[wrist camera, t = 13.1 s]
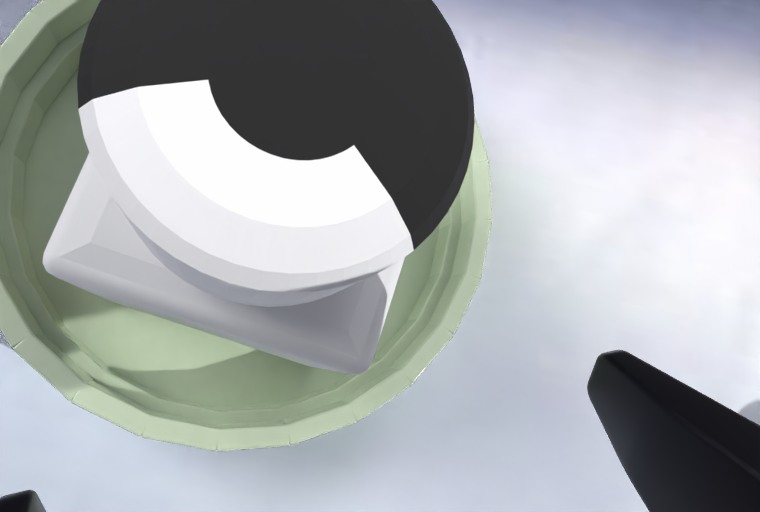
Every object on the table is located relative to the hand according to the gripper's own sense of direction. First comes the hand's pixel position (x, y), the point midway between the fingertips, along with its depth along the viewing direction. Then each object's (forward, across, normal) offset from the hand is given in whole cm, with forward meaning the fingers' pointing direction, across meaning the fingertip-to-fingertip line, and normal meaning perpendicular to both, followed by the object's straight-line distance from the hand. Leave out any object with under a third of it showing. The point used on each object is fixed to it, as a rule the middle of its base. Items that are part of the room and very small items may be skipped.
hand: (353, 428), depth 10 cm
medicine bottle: (+11, 0, +4) cm, 12 cm away
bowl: (+12, 0, +3) cm, 13 cm away
